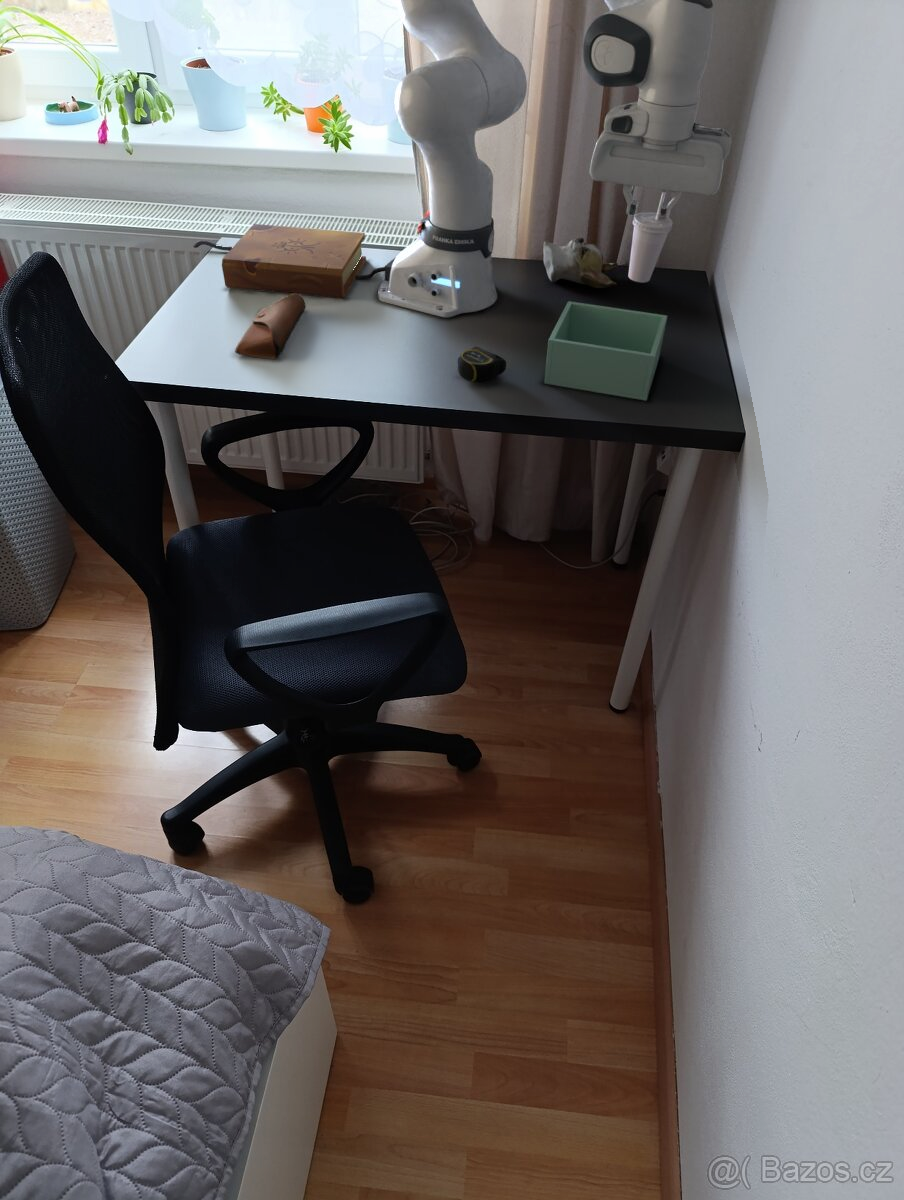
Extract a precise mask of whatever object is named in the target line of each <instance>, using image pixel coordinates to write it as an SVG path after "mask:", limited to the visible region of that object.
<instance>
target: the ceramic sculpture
mask: <svg viewBox="0 0 904 1200" xmlns="http://www.w3.org/2000/svg"><path fill="white" fill-rule="evenodd" d="M542 251H543V265H544V267H545V270H546V273H547V277H548V279H549V281H550V282H551V283H556V282H557V281H558V280H565V281H570V282H573V283H575V284H580V285H587V286H589V287H591V288H592V289H593V288H594V289H606V288H610V287H615V286H617V284H618V283H617V282H616V281H613V280H611V279H610V277H609V276H608V275H607V274H605V273H606V272H608V271H611V270H612V269H615V268H616V267H618V266H619V263H618V262H611V263H609V262H607V261H606V260H604V254H603V252H602V251H601V249H600V248H599V247H598V246H597V245H596V244H593V243H591V244H590V243H589V242H585V239H584V238H583V237H579V238H578V237H577V238H576V237H575V238H574V239H572V240H570V241H569V242H568V243H567V244H566V245H563V246H561V245H558V244H556V243H554V242H548V241H543V249H542Z"/></svg>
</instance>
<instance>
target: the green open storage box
mask: <svg viewBox="0 0 904 1200" xmlns="http://www.w3.org/2000/svg"><path fill="white" fill-rule="evenodd" d="M667 320H668V315H665V314H659V313H650V312H644V311H638V310H631V309H624V308H618V307H610V306H604V305H597V304H591V303H583V302H576V301H569V300H568V301H567V303H566V305H565V306H564V309H563V310H562V313H561V314H560V316H559V318H558V321H557V322H556V324H555V326H554V328H553V330H552V332H551V334H550V336H549V338H548V341H547V352H546V353H547V354H546V361H545V371H544V384H546V385H551V386H557V387H564V388H569V389H575V390H581V391H586V392H592V393H599V394H604V395H611V396H617V397H622V398H628V399H633V400H634V399H635V400H640V401H647V400H648V398H649V395H650V391H651V387H652V383H653V381H654V376H655V373H656V371H657V367H658V363H659V360H660V355H661V350H662V346H663V340H664V336H665V330H666V326H667V325H666V324H667Z"/></svg>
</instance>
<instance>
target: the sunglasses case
mask: <svg viewBox="0 0 904 1200" xmlns="http://www.w3.org/2000/svg"><path fill="white" fill-rule="evenodd" d="M306 305H307V304H306V301H305V299H304V297H303V295H301V294H297V293H294V294H288V295H286V296H284V297H282V298H280V299H279V300H276V302H273V303H272V304H271V305H270V304H269V305H267V306H264V307H263V308H261V309H260V310H259V312H258V313H257V314H256V315H255V317H254V318H253V319H252V323H251V324H250V326H249V327H248V328H247V330H246V332H245V333H244V334H243V336H242V337H241V340H239V343H238V344H237V346H236V348H235V350H234V352H235V353H236V354H237V355H240V356H244V357H249V358H254V359H264V360H276V359H278V358H279V357H280V356H281V355H282V354H283V352H284V350H285V348H286V345H287V343H288V341H289V339H290V337H291V335H292V333H293V331H294V330H295V328H296V326H297V324H298V322H299V320H300V318H301V317H302V316H303V314H304V312H305V310H306V308H307V307H306Z"/></svg>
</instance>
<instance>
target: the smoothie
mask: <svg viewBox="0 0 904 1200" xmlns="http://www.w3.org/2000/svg"><path fill="white" fill-rule="evenodd" d="M666 194H667V192H666V190H662V192H661V196H660V200H659V203H658V207H657V211H656V212H653V211H641V212H637V213H636V214H635V215H633V216H634V217H633V220H632V225H633V231H632V241H631V249H630V258H629V267H628V275H627V277H628V278H629V279H630V280H631V281H633V282H636V283H648V282H650V281H651V278H652V275H653V272H654V270H655V268H656V265H657V262H658V260H659V258H660V255H661V252H662V250H663V247H664V245H665V242H666V239H667V237H668V235H669V233H670V232H671V231H672V229H673V224H674V221H673V220H672V219H671V217H669V219H668V220H666V219H659V216H660V211H661V207H662V206H663V204H664V201H665V198H666Z"/></svg>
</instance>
